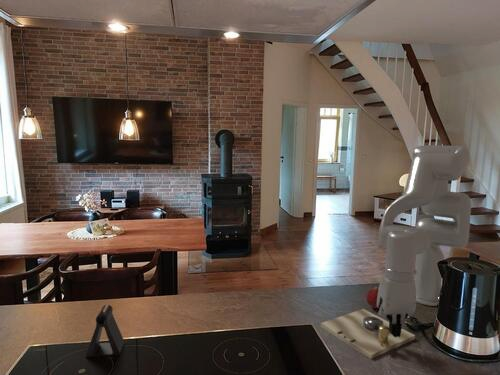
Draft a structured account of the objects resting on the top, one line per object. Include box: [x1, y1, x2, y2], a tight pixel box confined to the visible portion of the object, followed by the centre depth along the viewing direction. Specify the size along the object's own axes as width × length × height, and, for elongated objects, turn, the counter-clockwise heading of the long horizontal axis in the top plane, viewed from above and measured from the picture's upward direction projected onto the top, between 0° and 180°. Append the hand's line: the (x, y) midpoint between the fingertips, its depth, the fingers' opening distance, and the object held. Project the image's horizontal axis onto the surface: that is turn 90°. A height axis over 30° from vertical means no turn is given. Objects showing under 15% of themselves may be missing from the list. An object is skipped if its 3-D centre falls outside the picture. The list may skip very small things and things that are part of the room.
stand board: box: [320, 308, 416, 360], centre depth 110 cm, size 20×20×2 cm
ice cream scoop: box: [363, 317, 389, 348], centre depth 106 cm, size 16×6×5 cm, turn 176°
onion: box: [365, 286, 379, 309], centre depth 127 cm, size 6×6×8 cm
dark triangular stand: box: [85, 304, 125, 358], centre depth 99 cm, size 9×6×12 cm, turn 98°
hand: (394, 334), depth 103 cm, fingers closed
